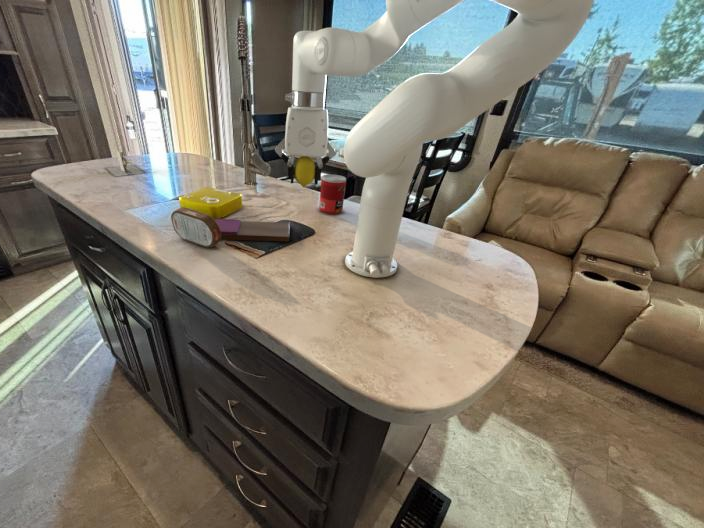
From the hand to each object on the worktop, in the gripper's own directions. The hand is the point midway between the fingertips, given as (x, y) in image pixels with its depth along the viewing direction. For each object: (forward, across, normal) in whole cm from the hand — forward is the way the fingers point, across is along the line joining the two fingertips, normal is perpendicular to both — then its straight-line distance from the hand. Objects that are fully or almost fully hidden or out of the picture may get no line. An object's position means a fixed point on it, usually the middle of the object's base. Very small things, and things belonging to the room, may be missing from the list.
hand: (304, 181), depth 84 cm
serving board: (+15, -14, 0) cm, 21 cm away
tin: (+15, -27, -8) cm, 32 cm away
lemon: (+1, 0, 0) cm, 1 cm away
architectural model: (+15, -74, +60) cm, 97 cm away
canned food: (+15, +10, +21) cm, 28 cm away
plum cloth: (+13, -21, 0) cm, 25 cm away
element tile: (+15, -29, +18) cm, 37 cm away
